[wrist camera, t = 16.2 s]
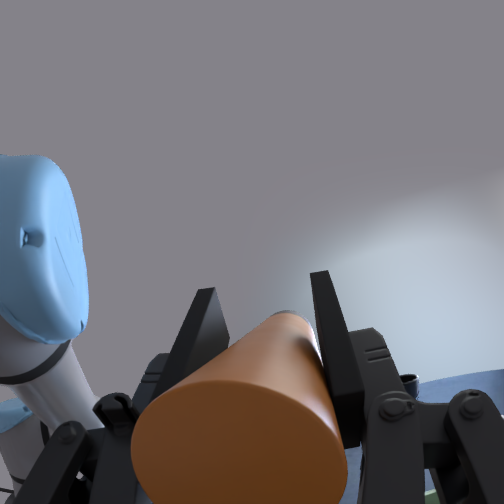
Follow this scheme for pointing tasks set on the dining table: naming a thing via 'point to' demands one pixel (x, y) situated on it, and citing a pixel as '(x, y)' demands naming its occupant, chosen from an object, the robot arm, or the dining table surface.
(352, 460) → the dining table surface
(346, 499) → the dining table surface
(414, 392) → the mug
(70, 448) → the robot arm
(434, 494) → the bin
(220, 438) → the orange brown cylinder
